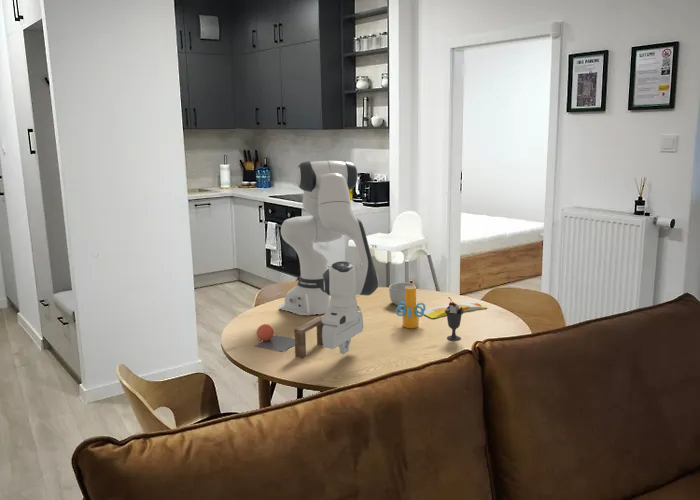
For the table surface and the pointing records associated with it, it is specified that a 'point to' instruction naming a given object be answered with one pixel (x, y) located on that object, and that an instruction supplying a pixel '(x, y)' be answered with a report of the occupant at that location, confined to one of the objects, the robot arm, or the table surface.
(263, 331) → the ball
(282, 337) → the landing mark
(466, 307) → the food package
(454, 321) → the sundae
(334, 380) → the table surface
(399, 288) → the teacup
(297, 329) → the bridge
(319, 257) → the robot arm
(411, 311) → the cylinder
